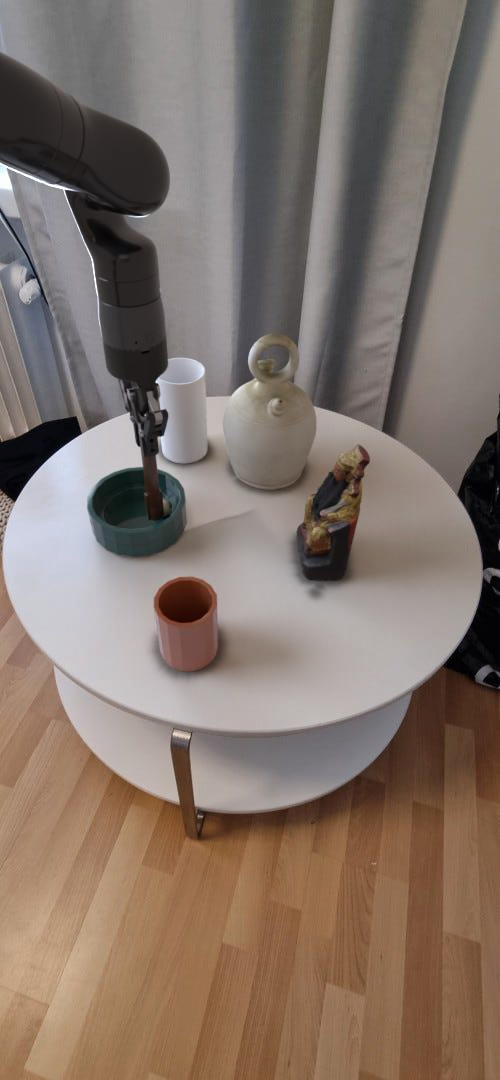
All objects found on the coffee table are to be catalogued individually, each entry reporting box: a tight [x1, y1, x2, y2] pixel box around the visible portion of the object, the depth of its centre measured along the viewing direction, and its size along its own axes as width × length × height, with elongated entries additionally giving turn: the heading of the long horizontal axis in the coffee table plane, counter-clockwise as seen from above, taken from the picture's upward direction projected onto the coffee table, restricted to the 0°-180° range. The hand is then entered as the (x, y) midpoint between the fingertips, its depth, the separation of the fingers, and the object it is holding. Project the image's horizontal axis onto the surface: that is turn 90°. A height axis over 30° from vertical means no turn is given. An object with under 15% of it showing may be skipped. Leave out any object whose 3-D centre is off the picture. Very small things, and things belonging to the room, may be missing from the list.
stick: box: [137, 422, 164, 521], centre depth 84 cm, size 3×2×18 cm
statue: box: [296, 444, 371, 593], centre depth 82 cm, size 12×8×20 cm, turn 178°
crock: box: [153, 576, 219, 672], centre depth 74 cm, size 8×8×10 cm
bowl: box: [86, 466, 188, 558], centre depth 91 cm, size 15×15×6 cm
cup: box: [156, 357, 209, 464], centre depth 101 cm, size 8×8×16 cm
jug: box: [222, 332, 317, 491], centre depth 95 cm, size 15×16×25 cm
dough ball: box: [162, 500, 171, 517], centre depth 93 cm, size 3×3×3 cm
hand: (147, 449), depth 81 cm, fingers closed on stick, 2 cm apart
